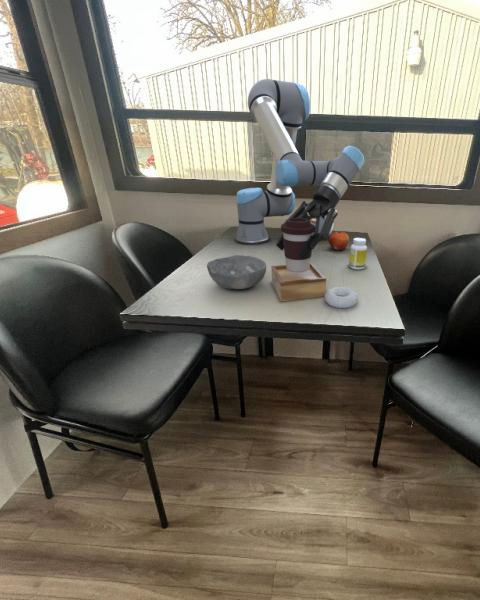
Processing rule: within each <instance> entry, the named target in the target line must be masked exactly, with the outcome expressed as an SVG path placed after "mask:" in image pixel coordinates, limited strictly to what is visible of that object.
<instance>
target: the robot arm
mask: <svg viewBox="0 0 480 600" xmlns="http://www.w3.org/2000/svg"><path fill="white" fill-rule="evenodd" d="M247 108H248V112H249V114H250V115H251V118H252V120H253V121H254V122H256V123H257V124H258V126H259V128H260V130H261V132H262V134H263V137H264V138H265V141H266V142H267V145H268V146H269V149H270V151H271V153H272V154H273V155H272V156H273V157H272V166H271V174H270V175H271V178H270V183H268V184H267V185H266V190H263V189H262V188H261V187H249V188H243V189H240V190H238V191H237V193H236V207H237V219H238V226H237V231H236V234H235V240H236V242H237V243H239V244H244V245H259V244H264V243H266V242H268V241H269V234H268V231H267V228H266V226H265V218H272V217H285V216H289V215H290V216H289V217H288V218H287V219H289V218H305V219H308V220H311V219H312V218H313V219H316V224H315V231H314V233H313V236H312V235H311V236H310V237H309V239H308V240H307V242H306V244H305V245H304V247H303V248H302V250H301V251H300V253H299V255H300V256H301V257H302V258H303V259H306V258H307V256H308V255H309V253H310V252H311V250H312V251H313V250H314V249H315V248H316V246H317V245H318V243H319V242H321V241H324V242H325V241H327V240H328V239H329V236H330V235H329V233H330V230H331V227H332V224H333V222H334V223H335V219H336V218H337V216H339V212H338V211H337V209H336V207H337V206H338V204H339V202H340V200H341V199H342V197H343V196H344V194H345V193H346V191H347V190H348V188H349V186H350V185H351V184H352V182H353V181H354V179H355V178H356V176H357V175H358V174H359V172H361V168H362V167H363V165H364V164H365V157H364V154H363V153H362V152H361V150H360V149H359V148H358V147H355V146H353V145H348V146H346V147H344V148H343V150H342V151H341V152H340V154H339V155H338V156H337V157H335V158H332V159H329V160H303V159H302V157H301V155H300V153H299V152H298V150H297V148H296V141H297V134H298V130H300V129H301V128H302V126H303V122H305V121H306V120H308V118H309V116H310V113H311V99H310V94H309V92H308V90H307V88H306V87H305V86H304V84H300V83H296V82H293V81H284V80H277V79H271V78H264V79H260V80H258V81H256V82H255V83H254V84H253V85H252V87H251V89H250V90H249V93H248V96H247ZM309 186H310V187H317V188H316V190H315V191H314V193H313V198H312V200H311V201H310V202H306V200H304V201H303V200H302V202H301V204H300V205H299V207H298V208H297V209H296V210H295V207H296V195H295V193H294V192H293V187H309ZM294 210H295V211H294ZM325 217H326V219H325ZM285 222H286V220H285V221H284V223H285ZM324 233H325V234H324ZM328 235H329V236H328ZM283 237H284V236H283V233H282V234H281V237H280V238H279V240H278V241H277V242H276V244H275V246H276V247H277V248H278V249H279V250H280V251H283V252H284V245H283Z"/></svg>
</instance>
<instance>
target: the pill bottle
mask: <svg viewBox="0 0 480 600" xmlns="http://www.w3.org/2000/svg"><path fill="white" fill-rule="evenodd" d="M352 243H353V244H351V246H350V251H349V268H351V269H353V270H363V269H365V268H366V262H367V252H368V246H367V245H366V243H367V239H366V238H363V237H355V238H353V241H352Z"/></svg>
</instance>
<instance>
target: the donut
mask: <svg viewBox="0 0 480 600" xmlns="http://www.w3.org/2000/svg"><path fill="white" fill-rule="evenodd" d="M323 297H324V301H325V302H326V303H327V304H328V305H329V306H331V307H333V308H338V309H349V308H352V307H353V306H355V305H356V304H357V303H358V301H359V297H358V293H357V292H356V291H355V290H354V289H352V288H349V287H344V286H334V287H331V288H329V289H326V293H325V296H323Z"/></svg>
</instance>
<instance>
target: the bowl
mask: <svg viewBox="0 0 480 600" xmlns="http://www.w3.org/2000/svg"><path fill="white" fill-rule="evenodd" d="M206 269H207V272H208V275H209V277H210V278H211V280H212V281H213V282H215V284H217V285H218V286H220V287H222V288H224V289H231V290H245V289H249V288H252V287H254V286H256V285H257V284H259V283H260V282H261V281H262V280H263V279H264V277H265V275H266V273H267V263H266V262H265V260H263V259H261V258H259V257H256V256H252V255H244V254H243V255H242V254H235V255H231V256H226V257H218V258H215V259H212V260H210V261H208V262H207V263H206Z"/></svg>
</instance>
